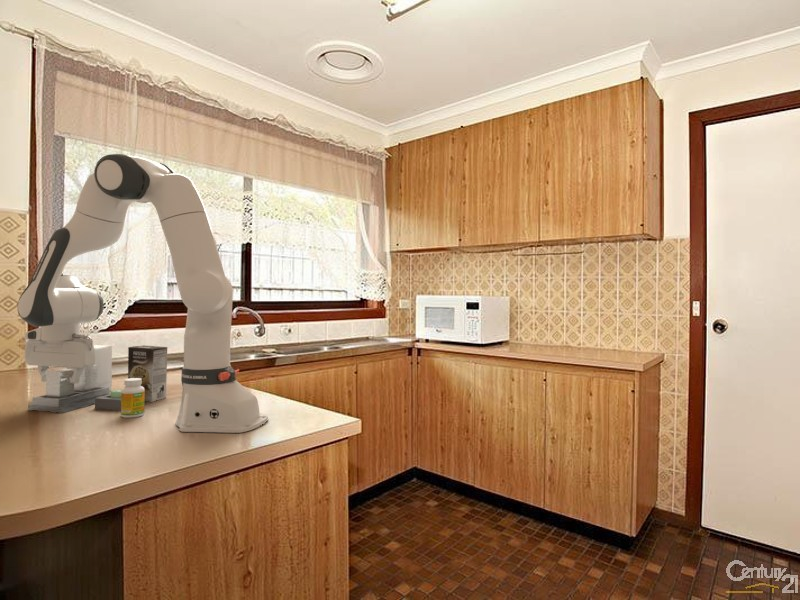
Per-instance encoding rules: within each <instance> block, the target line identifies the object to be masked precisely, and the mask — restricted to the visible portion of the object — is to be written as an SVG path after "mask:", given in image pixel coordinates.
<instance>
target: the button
mask: <svg viewBox="0 0 800 600" xmlns="http://www.w3.org/2000/svg"><path fill="white" fill-rule="evenodd" d="M121 391H122V389H112V390H111V391H109V394H110V398H121Z"/></svg>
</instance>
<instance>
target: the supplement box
mask: <svg viewBox="0 0 800 600" xmlns="http://www.w3.org/2000/svg"><path fill="white" fill-rule="evenodd" d="M93 345H94V344H93ZM94 351H95V364H94V365H98V387H109V392H111V391H113V387H112V386H113V383H112V381H113V380H112V379H113V376H112V375H113V373H112V370H113V369H112V367H113V363H112V362H113V359H112V358H113V346H112V345H99V344H96V345H94ZM66 369H72V368H69V367H66Z"/></svg>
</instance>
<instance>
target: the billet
mask: <svg viewBox="0 0 800 600" xmlns="http://www.w3.org/2000/svg"><path fill="white" fill-rule="evenodd" d="M73 374H74V372H73V369H67V368H58V369H52V370H48V371H46V382H45V395H46V398H56V399H60V398H64V397H68V396H72V395H74V384H70V382H69V381H70V377H72V376H73Z"/></svg>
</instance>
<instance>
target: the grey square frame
mask: <svg viewBox="0 0 800 600" xmlns="http://www.w3.org/2000/svg"><path fill="white" fill-rule="evenodd" d="M94 409H95V410H105V411H106V410H107V411H108V410H109V411H120V412H121V398H110V393H109V394H108V395H105V396H101V397H97V398H95V404H94Z"/></svg>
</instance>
